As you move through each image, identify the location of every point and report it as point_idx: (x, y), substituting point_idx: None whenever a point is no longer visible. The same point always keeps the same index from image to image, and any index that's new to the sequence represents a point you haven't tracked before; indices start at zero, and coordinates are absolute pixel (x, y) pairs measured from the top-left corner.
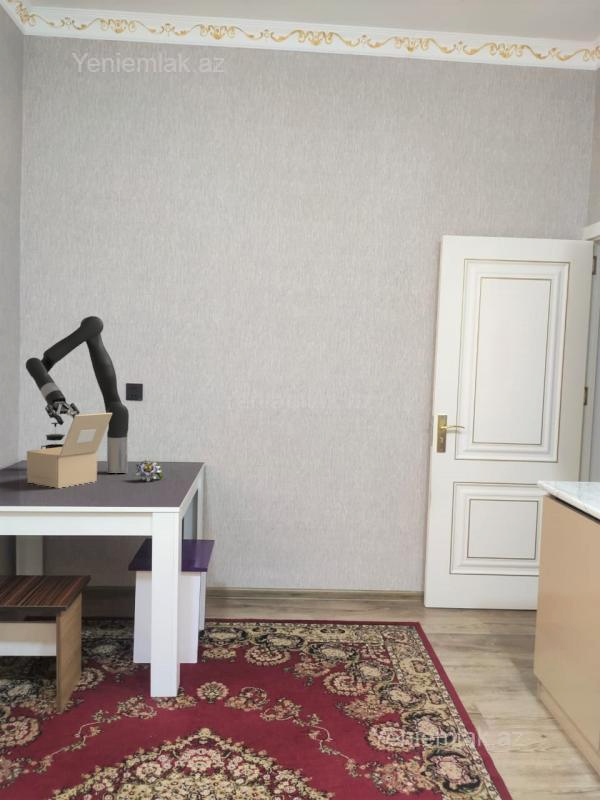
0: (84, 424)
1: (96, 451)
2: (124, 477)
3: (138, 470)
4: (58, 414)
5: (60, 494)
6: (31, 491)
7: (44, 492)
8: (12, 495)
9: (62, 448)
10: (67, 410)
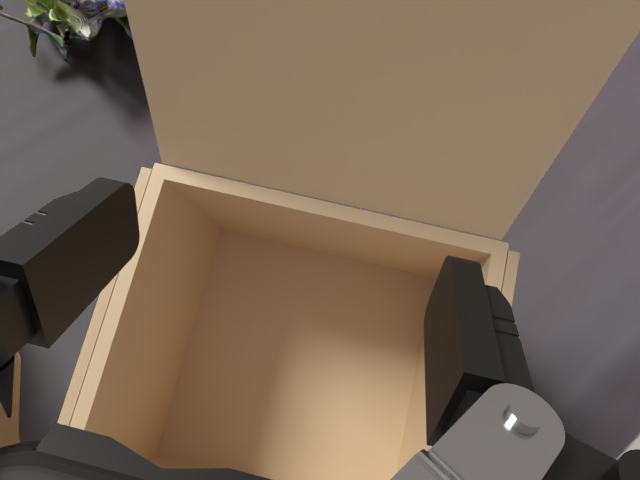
0: None
1: (160, 165)
2: (57, 172)
3: (125, 13)
4: (503, 405)
5: (541, 179)
6: (551, 346)
7: (540, 273)
8: None
9: (532, 188)
10: (51, 439)
